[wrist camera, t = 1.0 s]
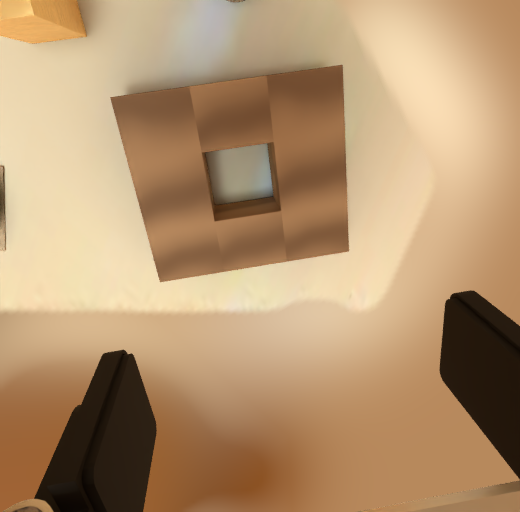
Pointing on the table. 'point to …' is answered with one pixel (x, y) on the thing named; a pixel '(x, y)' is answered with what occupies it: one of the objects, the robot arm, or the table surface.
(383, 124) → the table surface
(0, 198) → the condiment
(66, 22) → the square peg
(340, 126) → the socket block
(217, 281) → the table surface
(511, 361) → the robot arm
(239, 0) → the round peg
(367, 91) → the table surface
